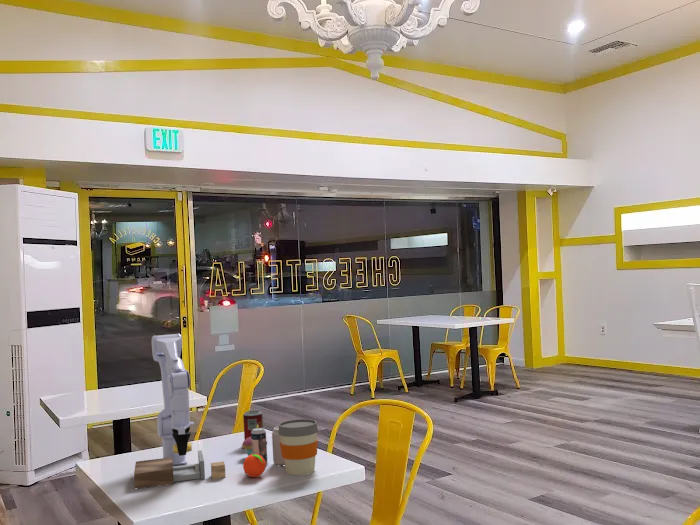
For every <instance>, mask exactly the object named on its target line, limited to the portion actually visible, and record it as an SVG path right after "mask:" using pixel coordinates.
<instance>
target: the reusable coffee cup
mask: <svg viewBox="0 0 700 525" xmlns="http://www.w3.org/2000/svg"><path fill="white" fill-rule="evenodd" d="M278 426H279V432H278V434H279V435H280V440H281V442H280V447H281V453H282V457H283V458H284V462H285V466H284V467H285V473H286V472H287V473H288V474H287V473H286V474H287V475H289V474H291V475H290V476H304V475H303V474H305V475H309V474H312V473H314V472H315V467H316V456H317V455H318V446H319V444H318V442H319V439H318V436H317V435H318V432H319V427H318V422H317V421H316V420H314V419H310V418H309V419H307V418H304V419H303V418H302V419H301V418H299V419H291V420H286V421H282V422H280V423H279V424H278ZM313 471H314V472H313ZM308 473H309V474H308Z"/></svg>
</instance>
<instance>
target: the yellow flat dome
mask: <svg viewBox="0 0 700 525" xmlns="http://www.w3.org/2000/svg"><path fill="white" fill-rule="evenodd" d="M192 448H193V446H192V442H189V441H188V445H187V453H189V452H191V451H193V449H192ZM173 453H178V449H177V445H176V444H174V445H173Z"/></svg>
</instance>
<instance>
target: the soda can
mask: <svg viewBox="0 0 700 525" xmlns="http://www.w3.org/2000/svg"><path fill="white" fill-rule="evenodd" d="M242 416H243V436H244V437H243V438H244V441H245V440H246V439H247V438H249V437H251V432H252V430H253V429H255V428H257V425H259V427H258V428H264V420H263V418H264V417H263V412H262V411H260V410H247V411H245V413H243V415H242Z"/></svg>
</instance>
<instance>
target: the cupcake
mask: <svg viewBox="0 0 700 525" xmlns="http://www.w3.org/2000/svg"><path fill="white" fill-rule="evenodd" d="M258 427H259V425H257V428H258ZM266 444H267V445H268V441H267V440H266ZM241 445H242V449H245V451H246V454H247V457H248V456H249V455H251V454H252V439H251V437H249V438H247V439H246V440H245V439H244V440H243V441H242V444H241Z"/></svg>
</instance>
